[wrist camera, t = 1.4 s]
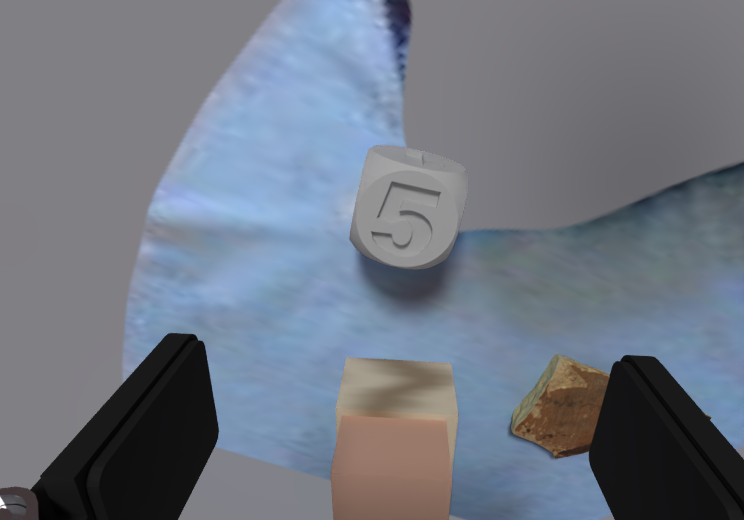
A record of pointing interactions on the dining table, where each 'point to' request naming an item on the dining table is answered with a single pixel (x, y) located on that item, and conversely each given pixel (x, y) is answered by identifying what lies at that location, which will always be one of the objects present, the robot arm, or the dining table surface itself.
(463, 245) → the dining table surface
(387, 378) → the tower base
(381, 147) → the die
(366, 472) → the tower top
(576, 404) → the shard
